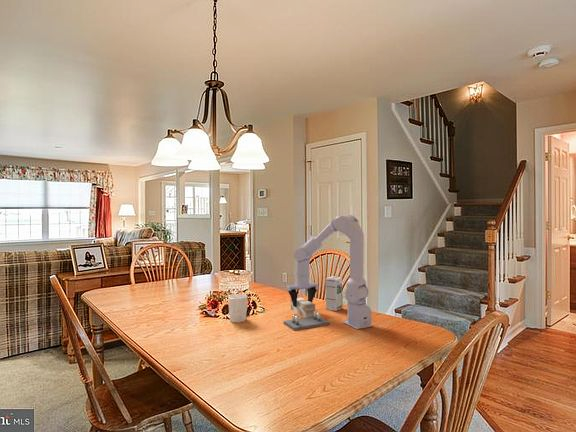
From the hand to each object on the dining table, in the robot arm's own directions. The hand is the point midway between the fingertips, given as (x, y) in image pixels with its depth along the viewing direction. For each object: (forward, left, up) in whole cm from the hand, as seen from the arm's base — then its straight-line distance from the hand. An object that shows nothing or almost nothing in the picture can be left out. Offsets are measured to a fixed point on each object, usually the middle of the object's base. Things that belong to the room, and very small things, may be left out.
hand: (302, 305), depth 162 cm
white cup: (+3, +29, -4) cm, 29 cm away
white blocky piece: (0, 0, -4) cm, 4 cm away
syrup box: (-1, -16, -4) cm, 16 cm away
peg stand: (-14, +6, -3) cm, 16 cm away
